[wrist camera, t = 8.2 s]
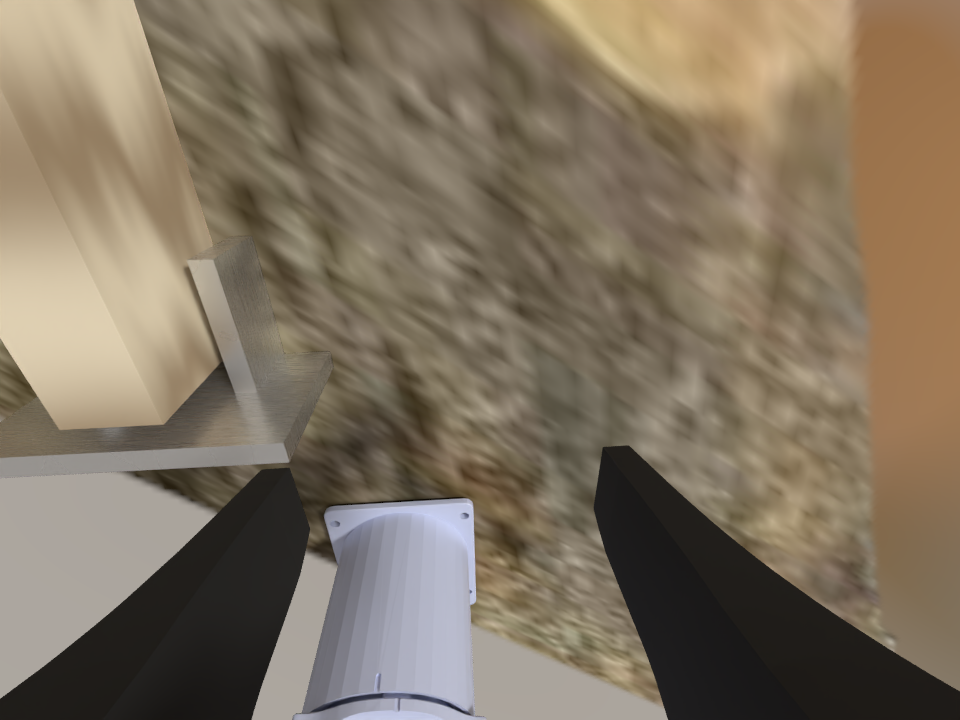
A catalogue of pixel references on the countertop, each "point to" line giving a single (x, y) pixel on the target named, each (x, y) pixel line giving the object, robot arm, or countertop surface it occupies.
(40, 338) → the rail
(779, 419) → the countertop surface
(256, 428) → the bracket
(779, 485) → the countertop surface
